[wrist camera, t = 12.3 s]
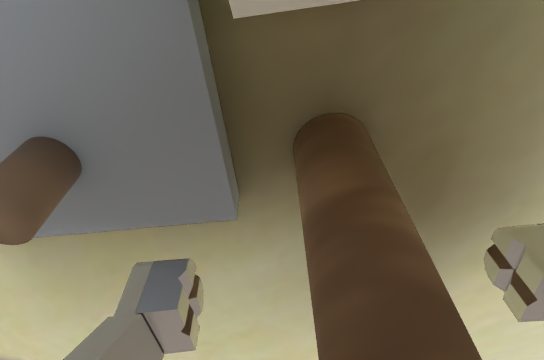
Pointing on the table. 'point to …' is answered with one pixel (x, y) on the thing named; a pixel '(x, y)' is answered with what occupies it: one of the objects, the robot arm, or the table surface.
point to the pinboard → (109, 119)
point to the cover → (274, 6)
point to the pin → (368, 255)
